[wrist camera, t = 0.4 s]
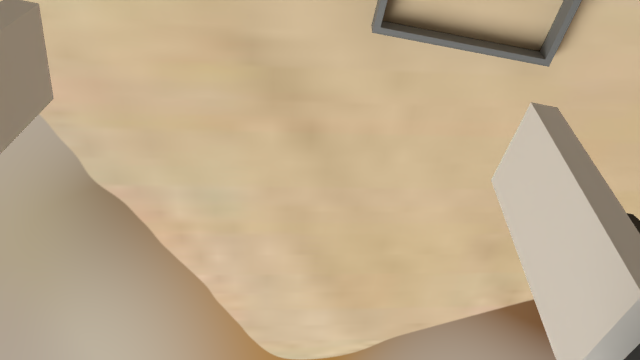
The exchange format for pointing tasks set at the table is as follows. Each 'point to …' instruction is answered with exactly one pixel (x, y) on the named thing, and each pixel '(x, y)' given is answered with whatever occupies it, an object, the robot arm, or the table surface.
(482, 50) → the frame
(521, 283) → the table surface
